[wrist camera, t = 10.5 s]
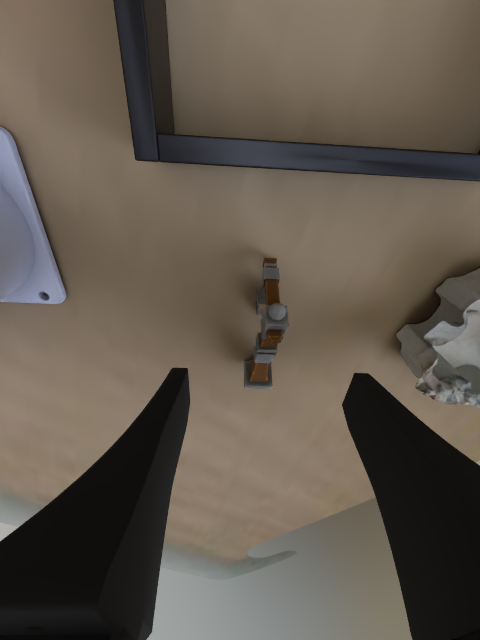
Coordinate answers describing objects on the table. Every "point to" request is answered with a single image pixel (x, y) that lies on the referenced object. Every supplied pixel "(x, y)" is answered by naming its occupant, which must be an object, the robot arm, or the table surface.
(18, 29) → the table surface
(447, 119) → the table surface
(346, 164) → the frame
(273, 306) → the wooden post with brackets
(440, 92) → the table surface
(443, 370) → the egg carton
